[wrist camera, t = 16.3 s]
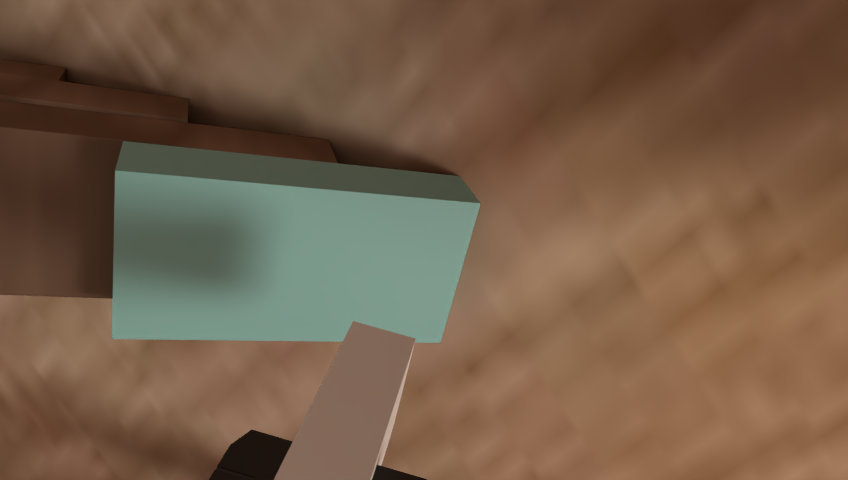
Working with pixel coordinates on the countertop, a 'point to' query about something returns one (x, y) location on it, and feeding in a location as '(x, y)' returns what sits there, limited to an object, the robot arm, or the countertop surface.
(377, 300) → the domino
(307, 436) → the robot arm
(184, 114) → the domino
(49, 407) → the countertop surface
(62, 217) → the domino
